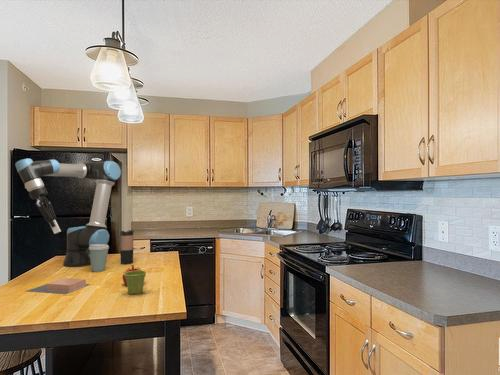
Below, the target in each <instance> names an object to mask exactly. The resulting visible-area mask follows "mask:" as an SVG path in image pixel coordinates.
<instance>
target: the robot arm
mask: <svg viewBox="0 0 500 375" xmlns="http://www.w3.org/2000/svg"><path fill="white" fill-rule="evenodd" d="M14 165H15V166H14V167H15V168H16V171H17V173H18V174H19V177H20V179H21V181H22V182H23V184H24V189H26V190H27V192H28V195H29V197H30V198H31V199H32V200H35V201H36V203H34V205H35V206H36V207H37V209H38V210H39V212H40V213H41V215H42V217H43V218H44V220H45V222H46V223H48V224H49V225H50V228H51V230H52V232H53V234H54V235H55V234H58V233H60V232H62V230H61V228H60V226H59V224H58V222H57V219H58V217H57V216H56V213H55V211H54V208H53V205H52V202H51V200H49V199H48V197H46V195H48V194H49V192H48V190H47V188H46V186H45V184H44V181H43V180H42V178H41V177H47V176H48V177H74V178H75V177H76V178H79V179H86V180H93V181H94V182H95V183H96V186H95V192H94V196H93V203H92V206H91V214H90V217H89V222H88V223H86V224H85V225H82V226H75V227H68V229H67V231H66V254H65V257H64V259H63V266H64V268H65V267H66V268H67V267H68V268H75V267H76V268H77V267H84V266H85V267H86V266H88V265H91V260H90V252H89V246H90V245H91V244H106V245H108V243H109V241H110V234H109V231H108V230H107V229H108V227H107V225H106V220H107V214H108V207H109V205H110V204H109V202H110V197H111V192H112V187H113V186H114V185H115V183H116V180H118V179H119V178H120V177H121V174H122V171H121V167H120V166H119V164H118V163H117V162H115V161H113V160H106V161H91V162H84V163H83V162H79V163H78V164H77V163H63V162H62V163H60V162H59V161H58V160H57V159H54V158H53V159H47V160H35V161H34V160H33V159H31V158H27V157H26V158H24V159H23V158H22V159H19V160H18V161H16V162H15V164H14Z"/></svg>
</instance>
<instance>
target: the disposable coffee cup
mask: <svg viewBox="0 0 500 375" xmlns="http://www.w3.org/2000/svg"><path fill="white" fill-rule="evenodd" d="M109 249H110V246H109V244H91V245H90V246H89V248H88V252H89V255H90V260H91V264H90V265H91V266H90V267H91V271H92V272H94V273H101V272H104V271H105V269H106V265H107V259H108V253H109Z"/></svg>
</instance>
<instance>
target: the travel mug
mask: <svg viewBox="0 0 500 375" xmlns="http://www.w3.org/2000/svg"><path fill="white" fill-rule="evenodd" d="M119 241H120V243H119V244H120V246H119V248H120V249H119V252H120V253H119V254H120V265H133V264H134V230H127V231H124V230H121V231H120V240H119Z"/></svg>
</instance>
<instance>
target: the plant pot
mask: <svg viewBox="0 0 500 375" xmlns="http://www.w3.org/2000/svg"><path fill="white" fill-rule="evenodd" d="M125 272H126V271H125ZM125 272H123V274H124V275H125V278H126V282H127V286H126V287H127V288H126V289H127V294H129V295H139V294H142V293H143V292H144V285H145V277H146V276H147V275H146V274H147V271H146V270H142V271H130V272H126V273H125Z"/></svg>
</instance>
